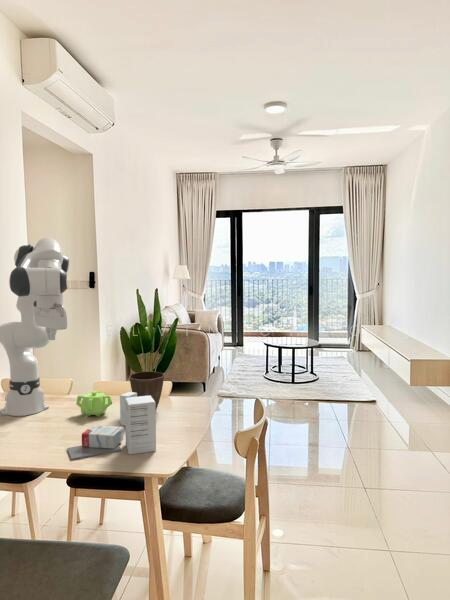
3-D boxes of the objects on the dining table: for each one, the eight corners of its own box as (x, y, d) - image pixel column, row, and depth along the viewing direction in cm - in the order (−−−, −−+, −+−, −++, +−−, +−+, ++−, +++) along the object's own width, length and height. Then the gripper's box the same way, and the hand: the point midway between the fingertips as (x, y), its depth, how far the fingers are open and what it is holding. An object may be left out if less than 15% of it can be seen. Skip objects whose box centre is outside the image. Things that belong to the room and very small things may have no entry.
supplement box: (156, 451, 141) (156, 402, 140) (128, 455, 138) (128, 404, 137) (151, 440, 150) (151, 394, 149) (125, 444, 147) (124, 397, 146)
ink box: (81, 447, 143) (113, 449, 141) (81, 433, 143) (113, 435, 141) (93, 438, 151) (124, 440, 149) (93, 424, 151) (124, 426, 149)
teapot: (113, 414, 180) (113, 391, 179) (88, 420, 171) (88, 397, 171) (99, 408, 188) (99, 386, 187) (75, 414, 180) (74, 391, 179)
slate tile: (67, 449, 142) (67, 447, 142) (114, 441, 150) (114, 439, 150) (71, 460, 134) (71, 458, 134) (121, 450, 142) (121, 449, 142)
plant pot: (152, 418, 174) (152, 380, 173) (122, 414, 179) (122, 377, 178) (170, 408, 188) (170, 373, 187) (142, 404, 193) (141, 370, 192)
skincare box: (129, 420, 172) (129, 391, 172) (137, 421, 170) (137, 392, 170) (119, 424, 167) (119, 395, 166) (128, 426, 165) (128, 396, 164)
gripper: (71, 303, 151) (72, 341, 152) (47, 301, 166) (48, 336, 166) (54, 304, 147) (55, 343, 148) (31, 302, 161) (31, 338, 162)
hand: (51, 339), depth 157 cm, fingers closed
